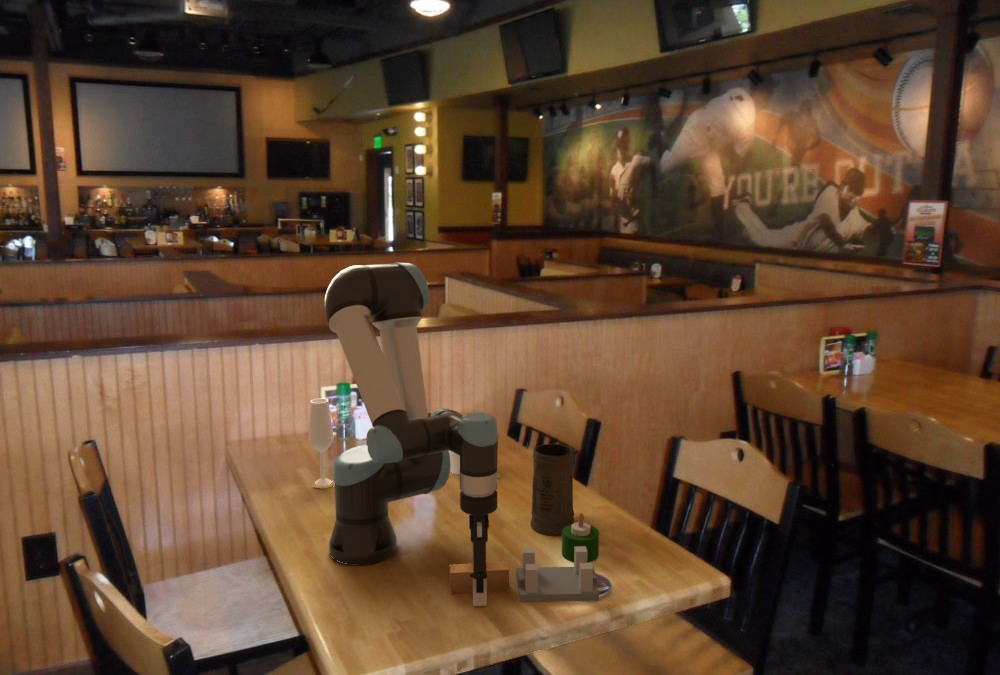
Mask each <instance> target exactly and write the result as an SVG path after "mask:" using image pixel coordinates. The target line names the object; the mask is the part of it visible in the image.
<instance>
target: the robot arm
mask: <svg viewBox="0 0 1000 675" xmlns="http://www.w3.org/2000/svg"><path fill="white" fill-rule="evenodd" d="M429 291H430V290H429V285H428V283H427V279H426V277H425V275H424V274H423V272H422V271H421V270H420V268H419V267H417V265H415V264H413V263H409V262H407V263H406V262H394V263H393V262H392V263H391V262H390V263H379V264H365V265H362V264H361V265H360V264H359V265H356V264H355V265H352V266H348V267H346V268H345V269H342V270H340V271H339V273H337V274H336V275H335V276H334V277H333V278H332V280H331V281H330V283H329V285H328V287H327V290H326V293H325V296H324V304H323V306H324V316H325V320H326V322H327V324H328V327H329V329H330V331H331V332H332V333H335V334H337V338H338V341H339V342H340V345H341V349H342V351H343V353H344V356H345V358H346V361H347V363H348V366H349V369H350V371H351V373H352V376H353V379H354V381H355V384H356V387H357V389H358V392H359V395H360V398H361V400H362V403H363V405H364V408H365V410H366V412H367V415H368V417H369V418H368V419H369V421H370V423H371V426H372V427H370V428H369V430H368V431H367V433H366V437H365V441H366V444H362V445H358V446H353V447H350V448H348V449H347V450H344V451H343V452H341V453H340V454H339V455H338V457H336V459H335V461H334V465H333V476H332V481H334V486H333V487H334V503H335V522H334V525H333V529H332V531H331V536H330V539H329V542H328V548H329V549H328V551H329V552H330V553H329V556H330V555H331V556H332V557H333V558H334V559H335V560H338V561H340V562H343V563H347V564H346V565H348V564H358V565H357V566H366V565H365V564H368V565H372V563H373V564H376V563H381V562H383V561H385V560H388V558H391V557H392V556H393V555H394V554H395V553H396V551H397V548H398V544H397V543H398V540H397V535H396V533H395V529H394V528H393V524H392V522H391V519H390V517H389V503H392V502H395V501H399V500H404V499H407V498H411V497H416V496H419V495H428V494H430V493H432V492H436V491H439V490H441V489H442V488H443V487H445V485H446V484H447V482H448V480H449V478H450V474H451V471H450V466H451V462H450V454H449V451H452V452H454V453H456V454H458V455H460V475H459V490H460V491H459V492H460V493H459V502H460V503H459V506H460V510H461V511H462V512H463V513H465V514H467V515H468V523H469V526H468V527H469V530H470V542H471V549H472V550H471V554H472V555H471V563H473V569H474V572H473V574H470V577H473V594H472V607H487V604H488V603H487V602H488V601H487V599H488V598H487V597H488V596H487V573H486V563H487V543H488V540H489V535H488V534H489V529H490V519H489V515H491V514H492V513H495V512H496V510H497V509H498V490H497V489H498V480H501V474H500V473H498V453H499V448H498V447H499V446H498V445H499V431H498V422H497V418H496V417H495V416H494V415H492V414H490V413H484V412H469V413H466V414H462V413H461V412H459V411H456V410H453V409H449V408H439V409H436V411H434V412H433V413H431V414H430V415H429V413H428V406H427V397H426V389H425V381H424V374H423V366H422V360H421V359H422V358H421V351H420V350H421V349H420V343H419V335H418V325H419V323H420V321H421V320H422V319H423V315H422V312H423V311H424V310H426V309H427V307H428V305H429V299H430V292H429ZM370 320H371V321H370ZM372 325H373V326H374V327H375V328H377V329H378V331H379V335H380V343H381V345H380V343H379V341H378V338H377V336H376V334H375V331H374V329H373V326H372ZM331 556H330V557H331ZM332 557H331V558H332ZM333 558H332V559H333ZM334 559H333V560H334ZM335 560H334V561H335ZM340 562H339V563H340ZM343 563H342V564H343Z"/></svg>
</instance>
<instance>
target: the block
mask: <svg viewBox="0 0 1000 675" xmlns="http://www.w3.org/2000/svg"><path fill="white" fill-rule="evenodd" d="M448 570H449V592H451V593H450V595H451V596H455V594H457V595H470V594H471V595H473V594H472V593H473V577H470V574H473V572H474V569H473V563H472V562H470V563H457V564H456V563H454V564H453V563H452V564H449V569H448ZM486 573H487V593H488V592H489V593H497V592H498V593H501V592H503V591H505V592H510V567H509V563H508V561H489V562H487V561H486Z"/></svg>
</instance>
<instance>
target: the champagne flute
mask: <svg viewBox="0 0 1000 675" xmlns="http://www.w3.org/2000/svg"><path fill="white" fill-rule="evenodd" d="M308 426H309V427H308V443H309V445H310V446H311V447H312V448H313V449H314V450H316V451H317V452H319V466H320V468H319V469H320V471H319V472H320V478H318V479H317V480H316V481H314V482H315V484H316V485H319V486H321V485H322V486H326V485H330V484H331V483H332V482H333V481H334V480H332V481H331V479H329V478H327V477H326V470H325V469H326V467H325V464H326V463H325V451H327V450H328V449H329V447H331V445H332V444H333V443H334V441H335V440H334V439H335V438H334V431H333V424H332V417H331V410H330V403H329V399H328V398H321V397H320V398H314V399H310V403H309V423H308Z"/></svg>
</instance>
